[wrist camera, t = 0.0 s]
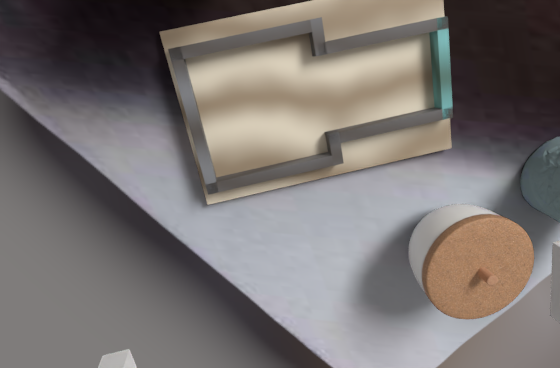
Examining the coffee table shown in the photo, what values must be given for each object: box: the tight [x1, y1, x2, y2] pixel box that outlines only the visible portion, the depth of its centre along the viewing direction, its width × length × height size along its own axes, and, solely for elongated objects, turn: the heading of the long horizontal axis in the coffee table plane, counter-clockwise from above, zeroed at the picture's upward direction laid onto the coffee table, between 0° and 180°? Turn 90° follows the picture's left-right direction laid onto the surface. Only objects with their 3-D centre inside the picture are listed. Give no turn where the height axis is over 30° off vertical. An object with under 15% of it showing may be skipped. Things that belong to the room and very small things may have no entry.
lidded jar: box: [409, 204, 534, 319], centre depth 40 cm, size 11×11×9 cm
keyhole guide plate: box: [159, 0, 453, 205], centre depth 37 cm, size 16×25×2 cm, turn 101°
